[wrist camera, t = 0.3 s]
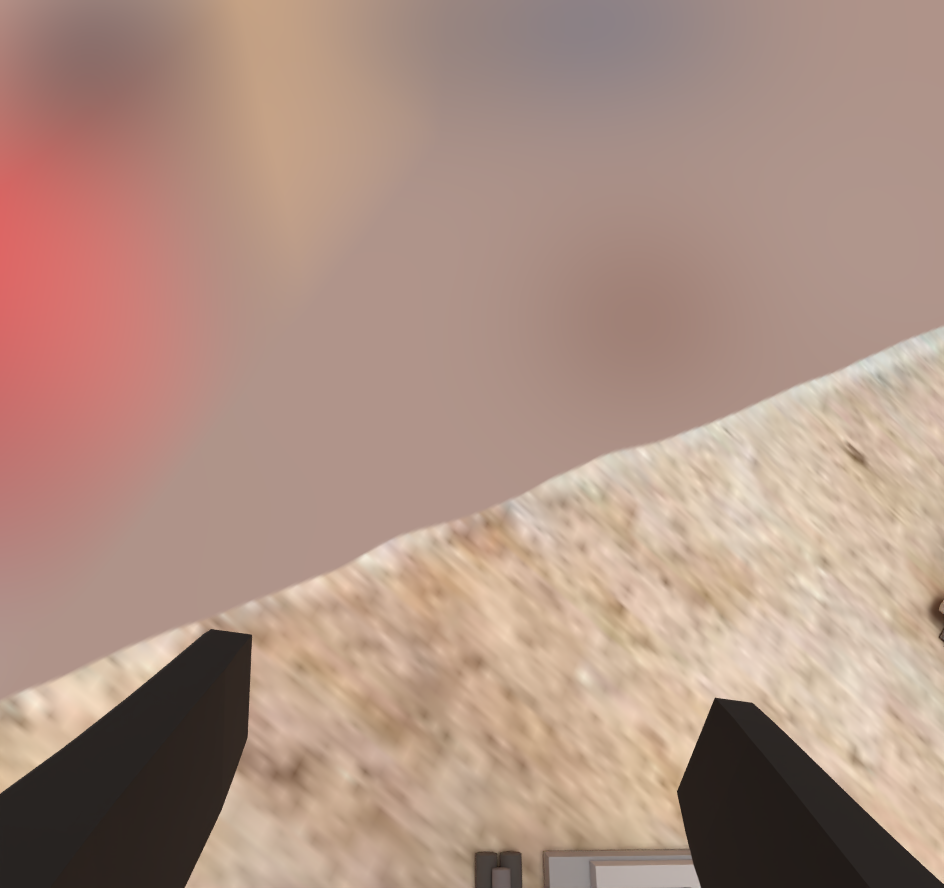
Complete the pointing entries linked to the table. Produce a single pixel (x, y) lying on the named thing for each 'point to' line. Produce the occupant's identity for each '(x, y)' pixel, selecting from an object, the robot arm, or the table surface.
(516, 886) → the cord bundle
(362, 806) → the table surface
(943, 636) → the electrical component
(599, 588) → the table surface
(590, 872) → the breaker panel
